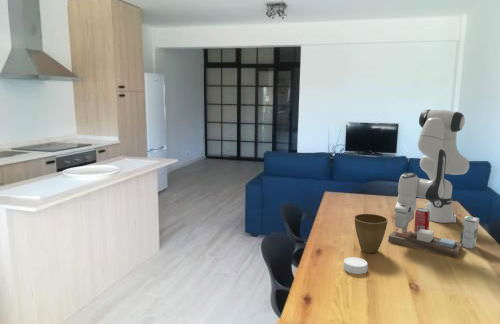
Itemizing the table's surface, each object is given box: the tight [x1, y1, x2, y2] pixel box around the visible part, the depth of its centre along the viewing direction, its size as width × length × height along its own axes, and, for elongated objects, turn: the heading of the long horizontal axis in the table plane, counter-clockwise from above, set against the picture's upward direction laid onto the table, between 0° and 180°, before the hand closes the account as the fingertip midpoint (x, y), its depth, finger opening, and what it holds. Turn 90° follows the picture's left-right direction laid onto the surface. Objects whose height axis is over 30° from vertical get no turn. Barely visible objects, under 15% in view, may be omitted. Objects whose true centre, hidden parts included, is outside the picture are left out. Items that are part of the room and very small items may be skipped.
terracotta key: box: [396, 228, 413, 238], centre depth 192 cm, size 6×6×4 cm
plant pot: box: [354, 213, 388, 254], centre depth 178 cm, size 15×15×16 cm
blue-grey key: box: [439, 237, 457, 248], centre depth 180 cm, size 6×6×4 cm
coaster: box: [342, 256, 369, 275], centre depth 160 cm, size 10×10×4 cm
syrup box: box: [459, 215, 480, 250], centre depth 184 cm, size 6×6×14 cm
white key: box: [417, 229, 434, 243], centre depth 185 cm, size 6×6×4 cm
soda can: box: [413, 207, 431, 233], centre depth 202 cm, size 7×7×13 cm
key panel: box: [387, 228, 463, 259], centre depth 186 cm, size 13×31×3 cm, turn 52°
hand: (404, 231), depth 191 cm, fingers closed, pressing on terracotta key
